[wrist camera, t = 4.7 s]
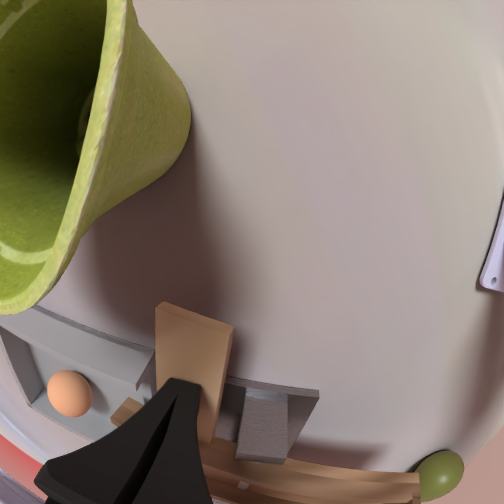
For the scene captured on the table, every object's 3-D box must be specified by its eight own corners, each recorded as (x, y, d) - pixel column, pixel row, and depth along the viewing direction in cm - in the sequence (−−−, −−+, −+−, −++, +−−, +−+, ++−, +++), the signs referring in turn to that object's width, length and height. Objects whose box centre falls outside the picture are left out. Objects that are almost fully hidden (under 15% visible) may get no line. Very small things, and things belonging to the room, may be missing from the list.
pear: (478, 478, 12) (429, 504, 17) (467, 436, 17) (424, 470, 21) (433, 497, 12) (389, 516, 17) (423, 450, 17) (385, 480, 22)
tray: (155, 350, 15) (135, 384, 12) (160, 437, 18) (150, 465, 16) (15, 294, 15) (-10, 312, 12) (44, 386, 19) (28, 405, 16)
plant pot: (43, 187, 12) (-83, 232, 4) (95, 26, 9) (-24, -23, 1) (184, 253, 13) (74, 387, 5) (264, 56, 10) (236, -92, 2)
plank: (500, 380, 8) (518, 416, 6) (375, 504, 12) (372, 531, 10) (118, 279, 11) (78, 304, 9) (138, 440, 16) (121, 462, 14)
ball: (94, 368, 16) (75, 404, 13) (102, 399, 17) (87, 432, 14) (55, 354, 16) (32, 385, 12) (65, 385, 17) (48, 415, 14)
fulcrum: (318, 390, 15) (325, 456, 10) (280, 458, 18) (278, 507, 14) (217, 373, 15) (199, 440, 11) (206, 446, 18) (193, 495, 14)
